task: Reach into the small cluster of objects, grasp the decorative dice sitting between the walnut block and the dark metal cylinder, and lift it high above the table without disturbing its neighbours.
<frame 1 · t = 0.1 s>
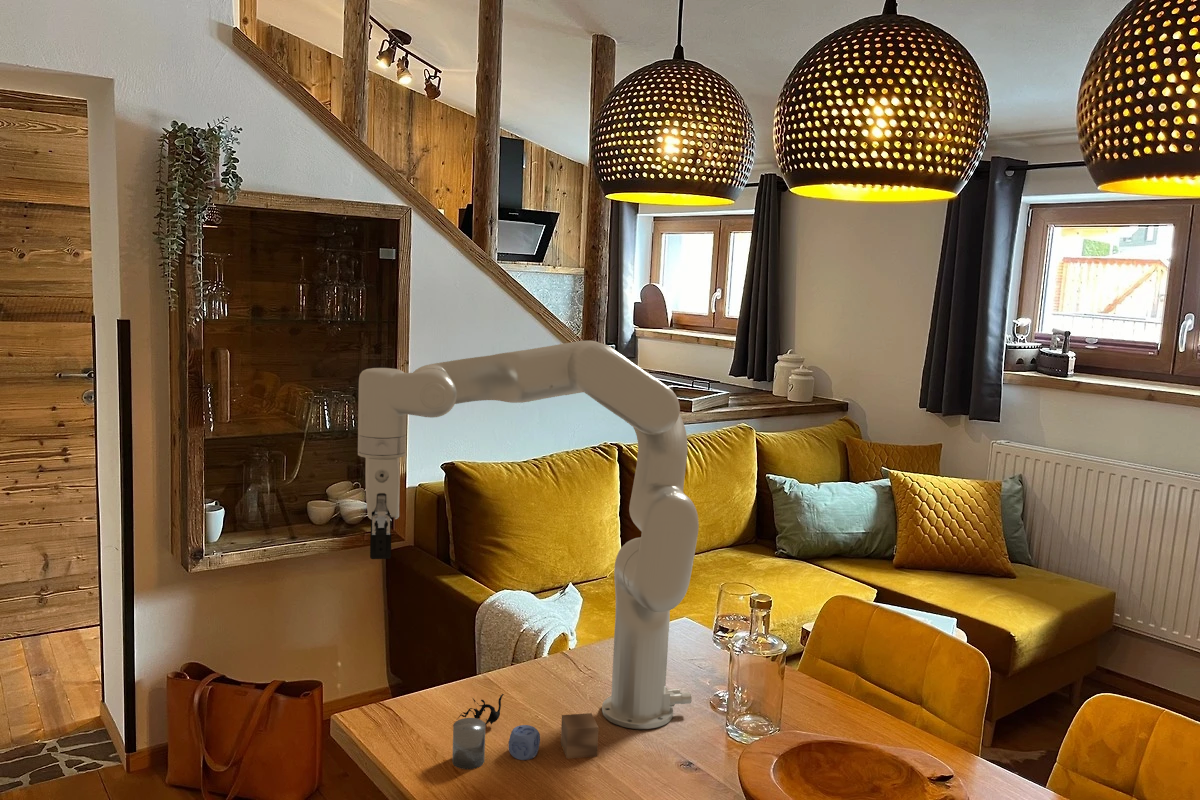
hand: (380, 549, 152), 31 cm above the table, tool pointing down, fingers open, 9 cm apart
walnut block: (578, 750, 153), on the table
dark metal cylinder: (468, 761, 148), on the table
creature: (477, 726, 160), on the table
decorative dice: (523, 755, 151), on the table
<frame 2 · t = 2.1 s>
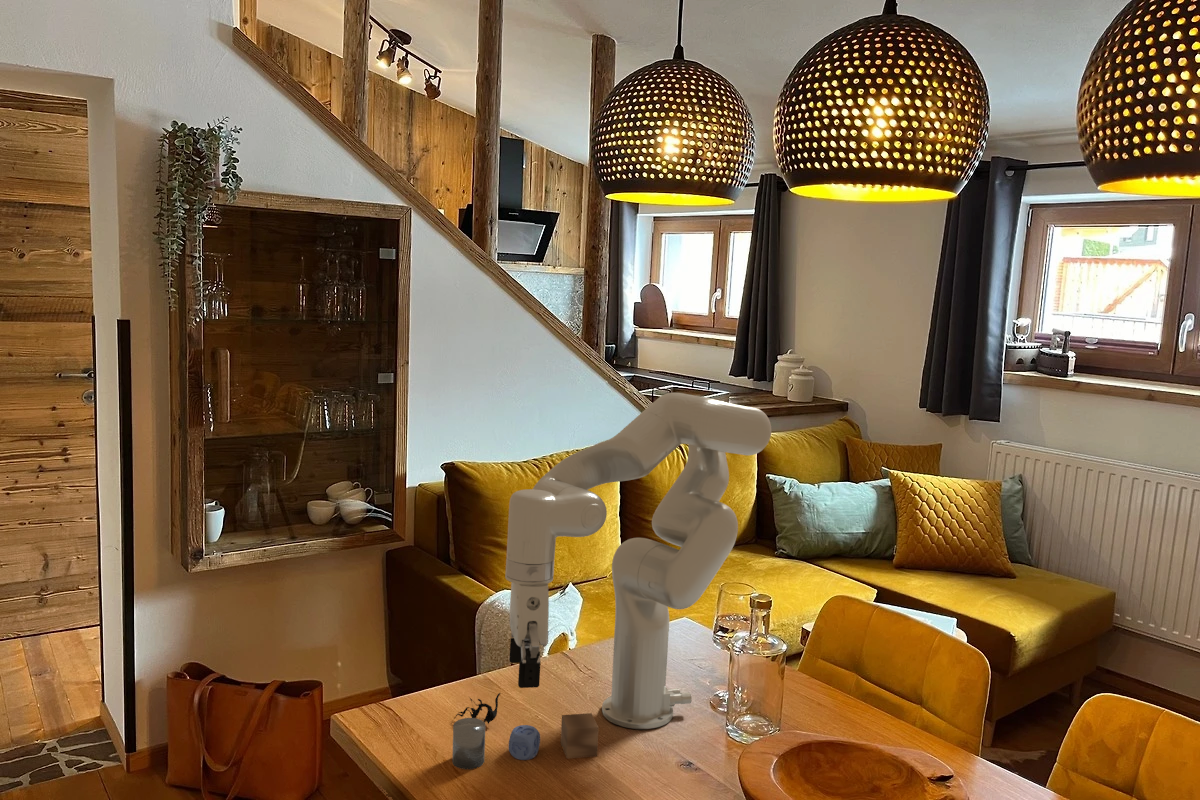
hand: (523, 674, 149), 14 cm above the table, tool pointing down, fingers open, 9 cm apart
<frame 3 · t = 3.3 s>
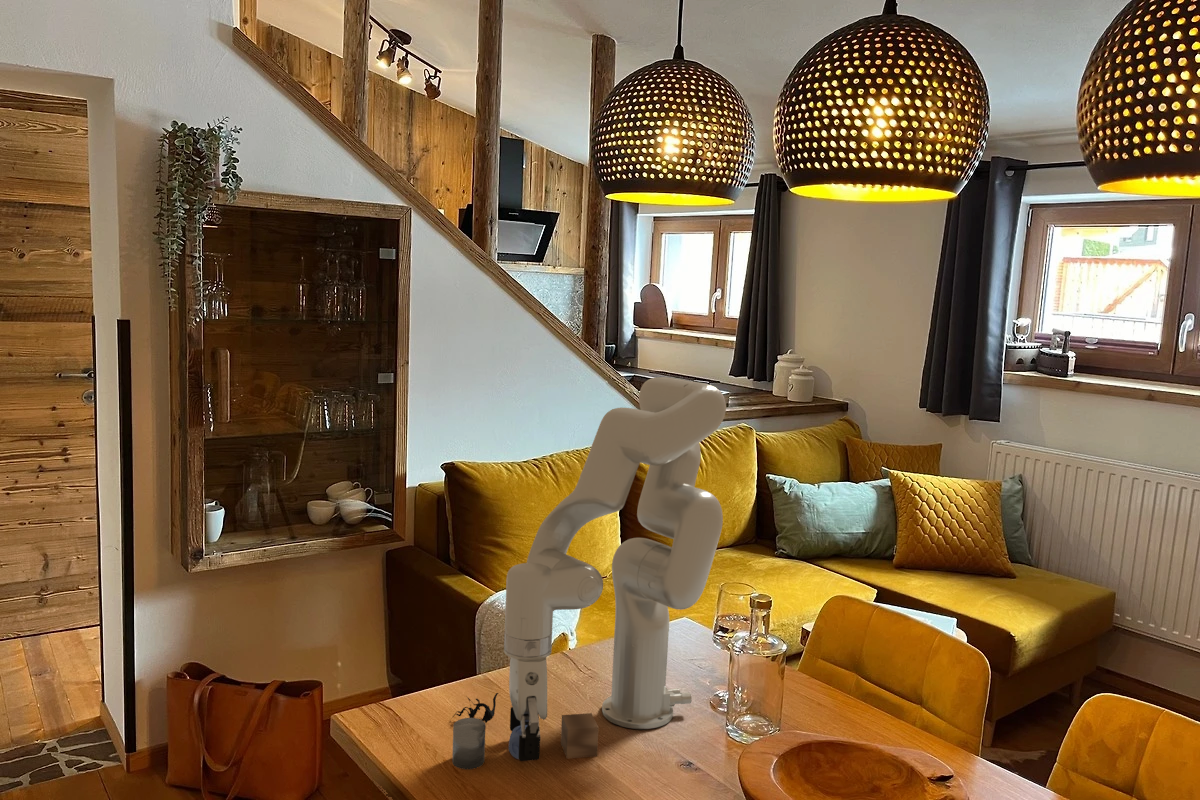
hand: (524, 744, 151), 2 cm above the table, tool pointing down, fingers open, 9 cm apart
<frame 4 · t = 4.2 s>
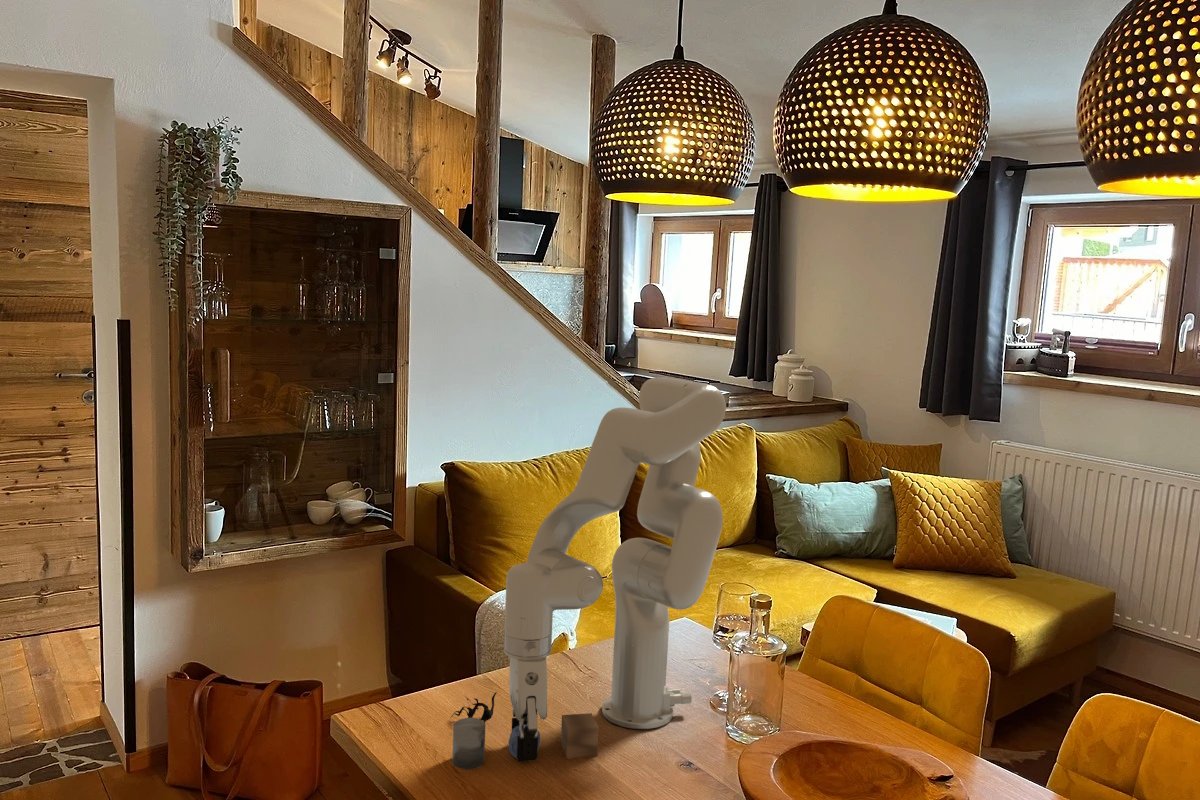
hand: (523, 749, 151), 1 cm above the table, tool pointing down, fingers closed on decorative dice, 5 cm apart
decorative dice: (524, 754, 151), on the table, touching gripper
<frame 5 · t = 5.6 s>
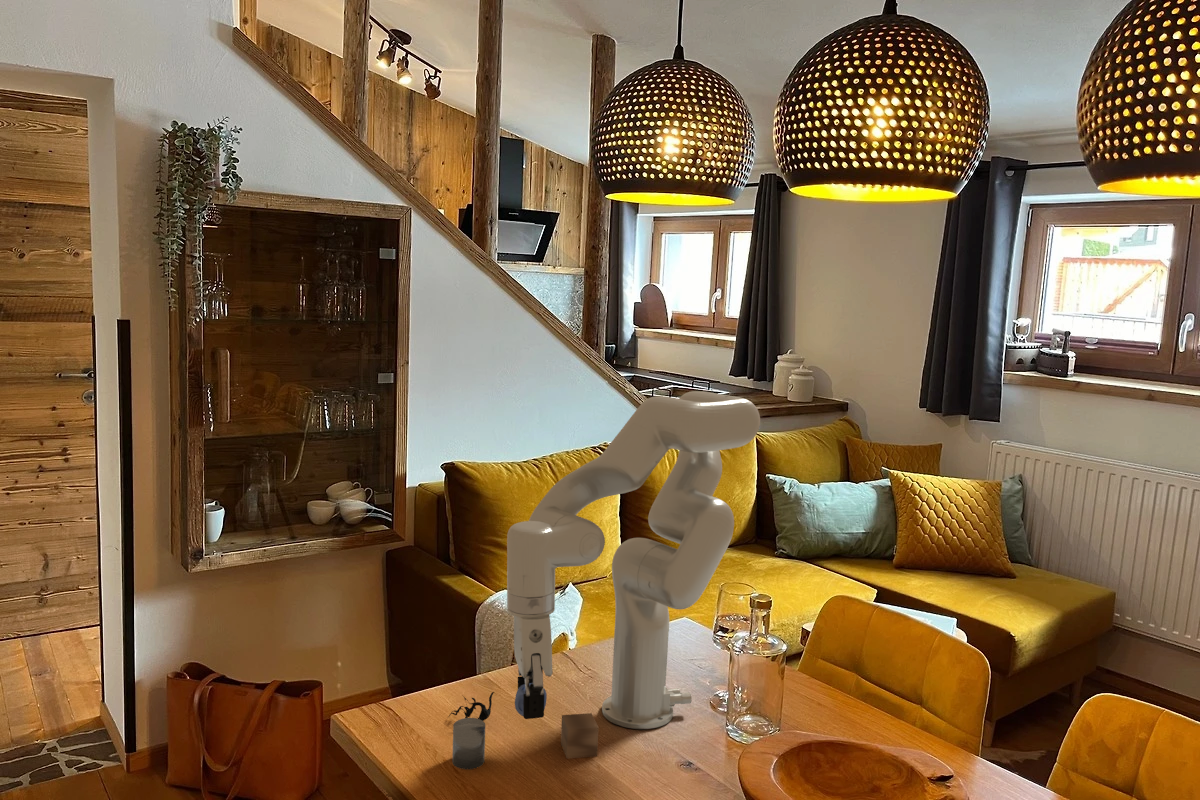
hand: (530, 707, 151), 8 cm above the table, tool pointing down, fingers closed on decorative dice, 5 cm apart
decorative dice: (530, 713, 151), point 7 cm above the table, touching gripper
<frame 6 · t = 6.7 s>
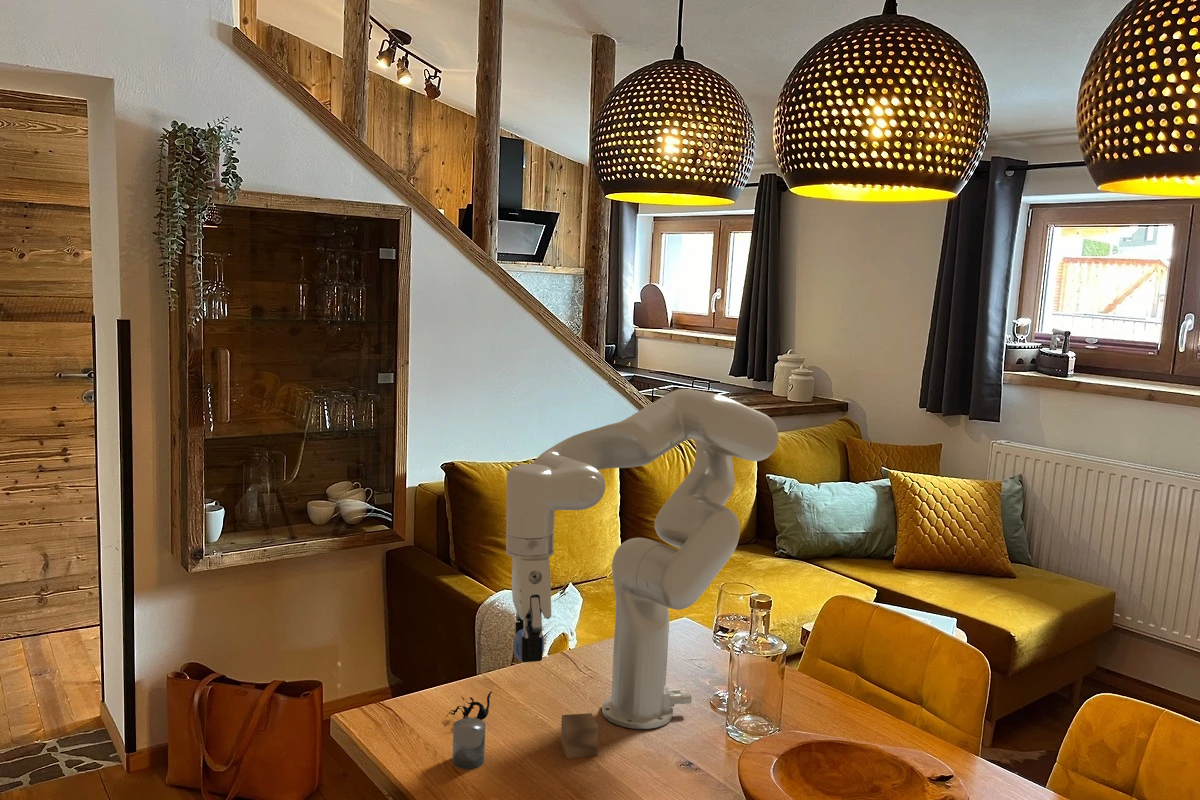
hand: (528, 652, 150), 17 cm above the table, tool pointing down, fingers closed on decorative dice, 5 cm apart
decorative dice: (528, 657, 150), point 16 cm above the table, touching gripper
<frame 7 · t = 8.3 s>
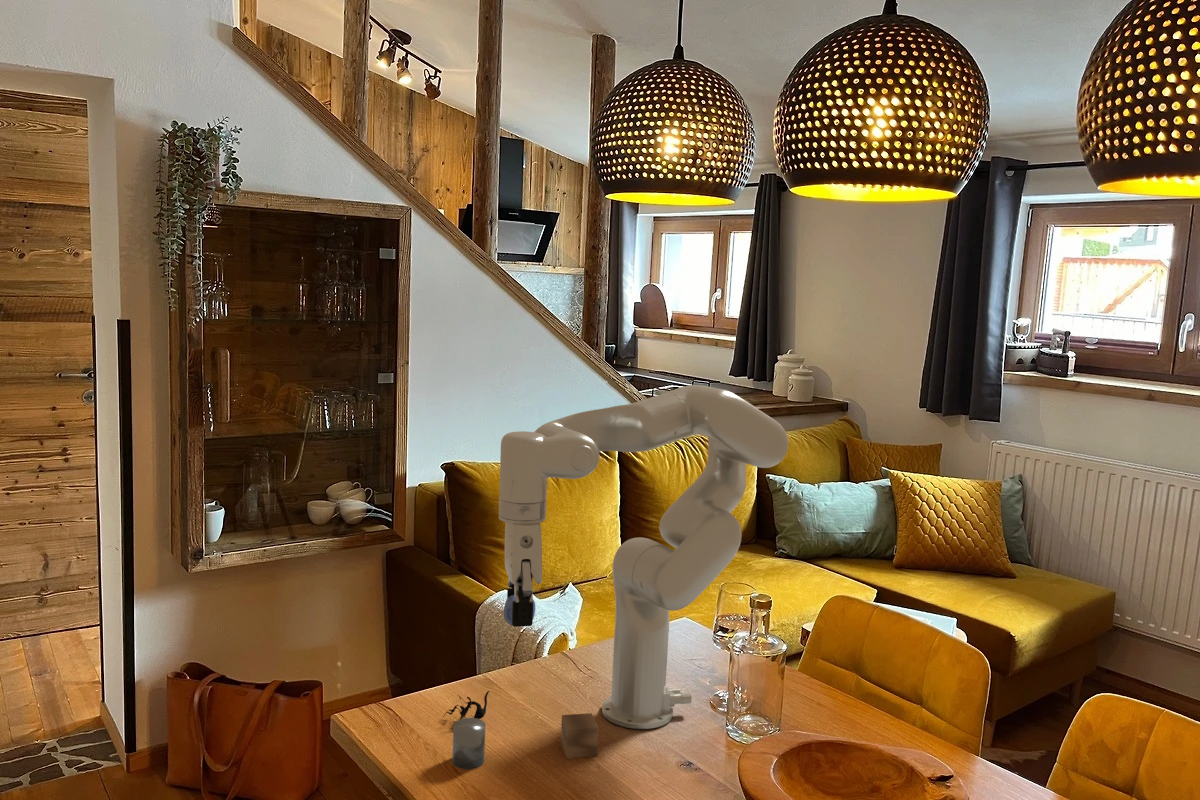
hand: (519, 617, 152), 21 cm above the table, tool pointing down, fingers closed on decorative dice, 5 cm apart
decorative dice: (519, 623, 152), point 20 cm above the table, touching gripper
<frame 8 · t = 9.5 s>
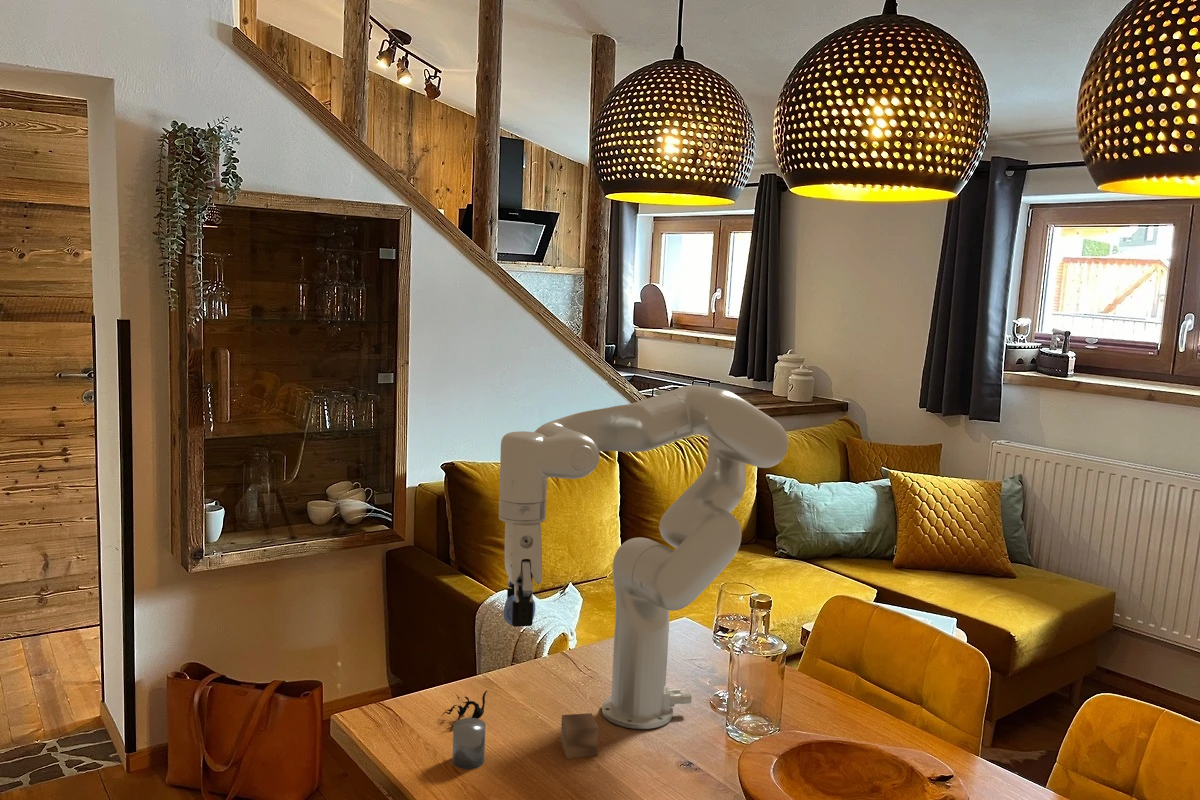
hand: (519, 617, 152), 21 cm above the table, tool pointing down, fingers closed on decorative dice, 5 cm apart
decorative dice: (519, 623, 152), point 20 cm above the table, touching gripper
at the end: decorative dice point 20.3 cm above the table; the gripper is holding decorative dice; walnut block moved 0.1 cm from its start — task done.
